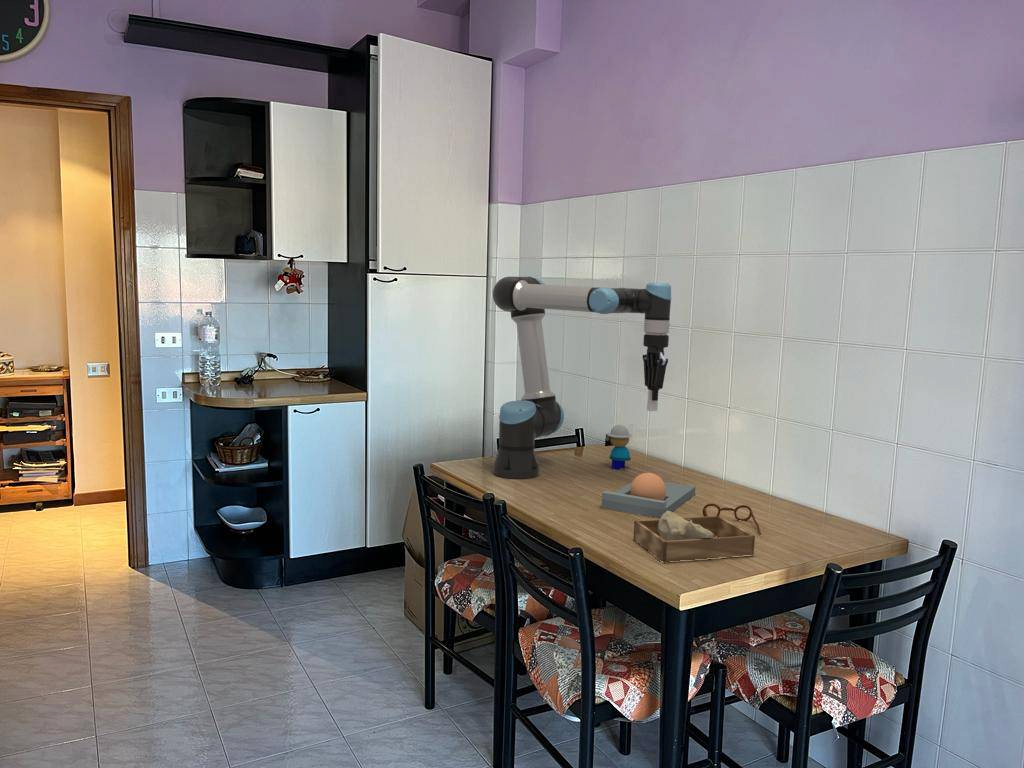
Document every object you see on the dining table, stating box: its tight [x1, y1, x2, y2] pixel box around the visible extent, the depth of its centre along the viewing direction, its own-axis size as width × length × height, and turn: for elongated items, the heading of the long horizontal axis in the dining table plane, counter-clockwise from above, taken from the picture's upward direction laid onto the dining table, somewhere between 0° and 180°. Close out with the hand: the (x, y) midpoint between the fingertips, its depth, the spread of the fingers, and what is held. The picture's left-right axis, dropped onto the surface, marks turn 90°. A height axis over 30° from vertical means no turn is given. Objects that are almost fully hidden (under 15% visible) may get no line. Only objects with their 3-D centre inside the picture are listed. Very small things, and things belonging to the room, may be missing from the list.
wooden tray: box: [632, 515, 756, 562], centre depth 192 cm, size 16×23×5 cm
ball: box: [630, 472, 666, 501], centre depth 225 cm, size 10×10×10 cm
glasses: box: [702, 503, 762, 536], centre depth 210 cm, size 13×13×5 cm
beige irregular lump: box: [658, 511, 715, 541], centre depth 191 cm, size 15×7×15 cm
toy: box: [604, 424, 633, 471], centre depth 272 cm, size 8×9×15 cm
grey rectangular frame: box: [601, 481, 696, 519], centre depth 232 cm, size 30×18×4 cm, turn 151°
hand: (652, 410), depth 244 cm, fingers closed
